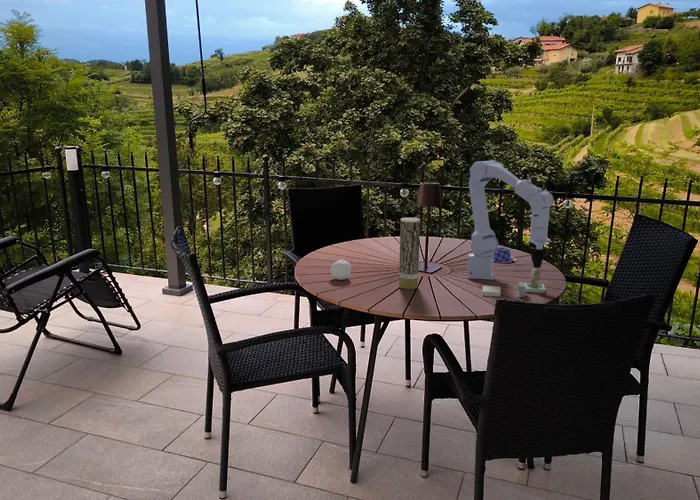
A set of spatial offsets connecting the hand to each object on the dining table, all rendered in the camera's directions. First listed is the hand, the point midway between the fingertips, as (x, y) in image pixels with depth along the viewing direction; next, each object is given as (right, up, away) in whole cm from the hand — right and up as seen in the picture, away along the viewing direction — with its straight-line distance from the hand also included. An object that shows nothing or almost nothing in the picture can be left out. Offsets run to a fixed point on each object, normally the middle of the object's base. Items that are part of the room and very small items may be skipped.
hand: (536, 264), depth 194 cm
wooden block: (-6, -10, -3) cm, 13 cm away
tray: (0, -9, +2) cm, 9 cm away
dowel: (0, -9, +2) cm, 9 cm away
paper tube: (-44, -9, +5) cm, 45 cm away
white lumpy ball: (-69, -6, +15) cm, 70 cm away
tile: (-16, -10, -1) cm, 19 cm away
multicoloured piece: (0, 0, +43) cm, 43 cm away
